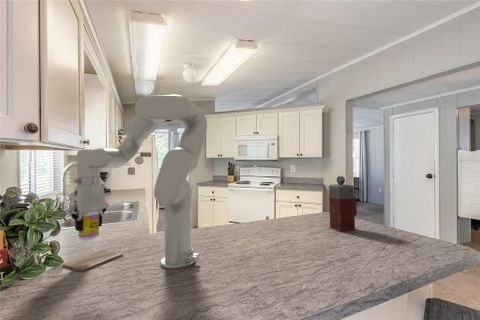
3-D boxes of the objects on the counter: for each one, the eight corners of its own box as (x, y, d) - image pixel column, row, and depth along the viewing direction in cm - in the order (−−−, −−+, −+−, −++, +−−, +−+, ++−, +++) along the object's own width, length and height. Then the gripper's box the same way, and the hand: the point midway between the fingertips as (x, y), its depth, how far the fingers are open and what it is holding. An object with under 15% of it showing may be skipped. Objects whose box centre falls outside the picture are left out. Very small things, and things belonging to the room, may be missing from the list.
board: (123, 255, 98) (123, 253, 98) (82, 272, 84) (82, 269, 84) (103, 251, 104) (103, 249, 104) (62, 266, 89) (62, 264, 89)
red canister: (359, 230, 126) (357, 176, 127) (340, 232, 124) (338, 176, 124) (348, 226, 135) (346, 175, 135) (329, 227, 132) (328, 176, 133)
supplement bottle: (89, 240, 90) (89, 205, 90) (74, 239, 91) (74, 205, 91) (103, 235, 96) (102, 202, 96) (88, 234, 98) (88, 202, 98)
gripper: (70, 183, 84) (70, 235, 84) (115, 180, 100) (116, 224, 100) (58, 183, 88) (58, 233, 87) (103, 179, 103) (104, 222, 103)
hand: (89, 227), depth 94 cm, fingers closed on supplement bottle, 6 cm apart
